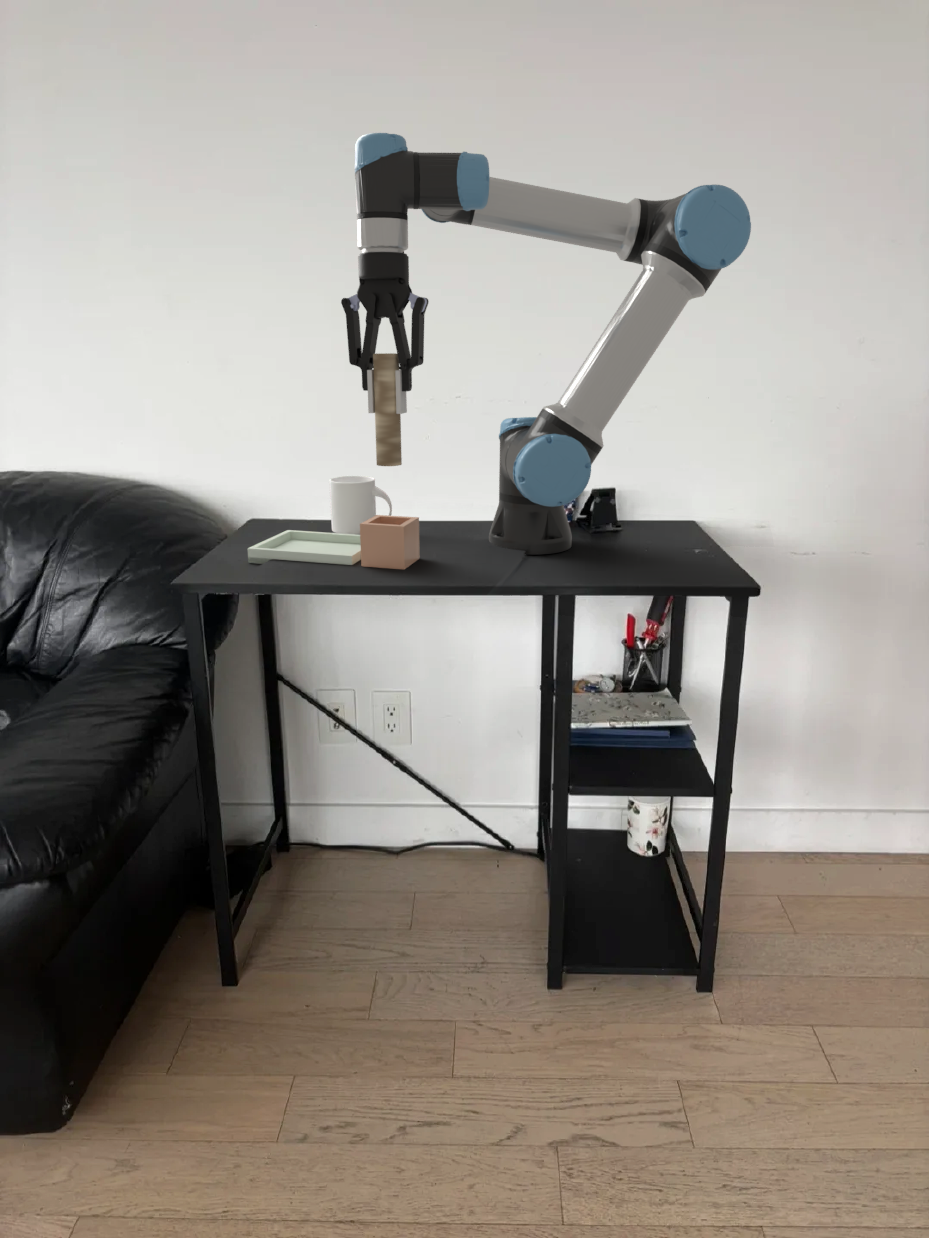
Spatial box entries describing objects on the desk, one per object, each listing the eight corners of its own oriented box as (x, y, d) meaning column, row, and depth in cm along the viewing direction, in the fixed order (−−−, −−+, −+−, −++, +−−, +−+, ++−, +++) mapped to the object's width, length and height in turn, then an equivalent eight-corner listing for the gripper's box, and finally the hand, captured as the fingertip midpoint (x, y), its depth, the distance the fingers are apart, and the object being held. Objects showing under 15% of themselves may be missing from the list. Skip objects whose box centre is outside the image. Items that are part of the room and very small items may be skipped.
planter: (419, 563, 148) (418, 517, 146) (404, 575, 141) (403, 526, 139) (378, 560, 150) (376, 514, 148) (361, 571, 143) (359, 523, 141)
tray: (384, 549, 158) (384, 536, 157) (352, 570, 144) (351, 556, 143) (288, 543, 163) (287, 530, 162) (248, 562, 149) (247, 548, 148)
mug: (385, 541, 164) (384, 484, 161) (325, 538, 167) (322, 482, 164) (398, 531, 172) (397, 477, 169) (341, 528, 175) (338, 475, 171)
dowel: (405, 463, 142) (402, 353, 136) (396, 466, 138) (393, 354, 133) (381, 462, 143) (378, 353, 137) (372, 465, 139) (369, 354, 134)
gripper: (445, 253, 132) (446, 412, 139) (340, 255, 136) (347, 409, 144) (429, 248, 125) (431, 416, 132) (320, 251, 129) (328, 413, 137)
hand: (387, 412), depth 138 cm, fingers closed on dowel, 4 cm apart
